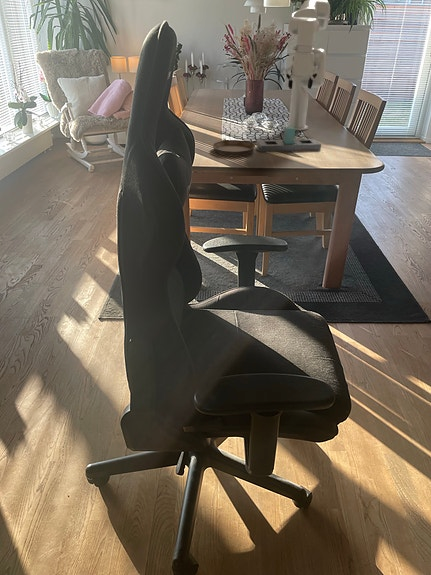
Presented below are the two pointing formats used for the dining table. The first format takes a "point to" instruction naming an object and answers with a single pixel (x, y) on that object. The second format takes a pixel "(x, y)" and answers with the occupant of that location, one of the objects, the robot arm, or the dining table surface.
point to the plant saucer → (233, 147)
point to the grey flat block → (288, 145)
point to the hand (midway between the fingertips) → (299, 88)
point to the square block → (289, 135)
